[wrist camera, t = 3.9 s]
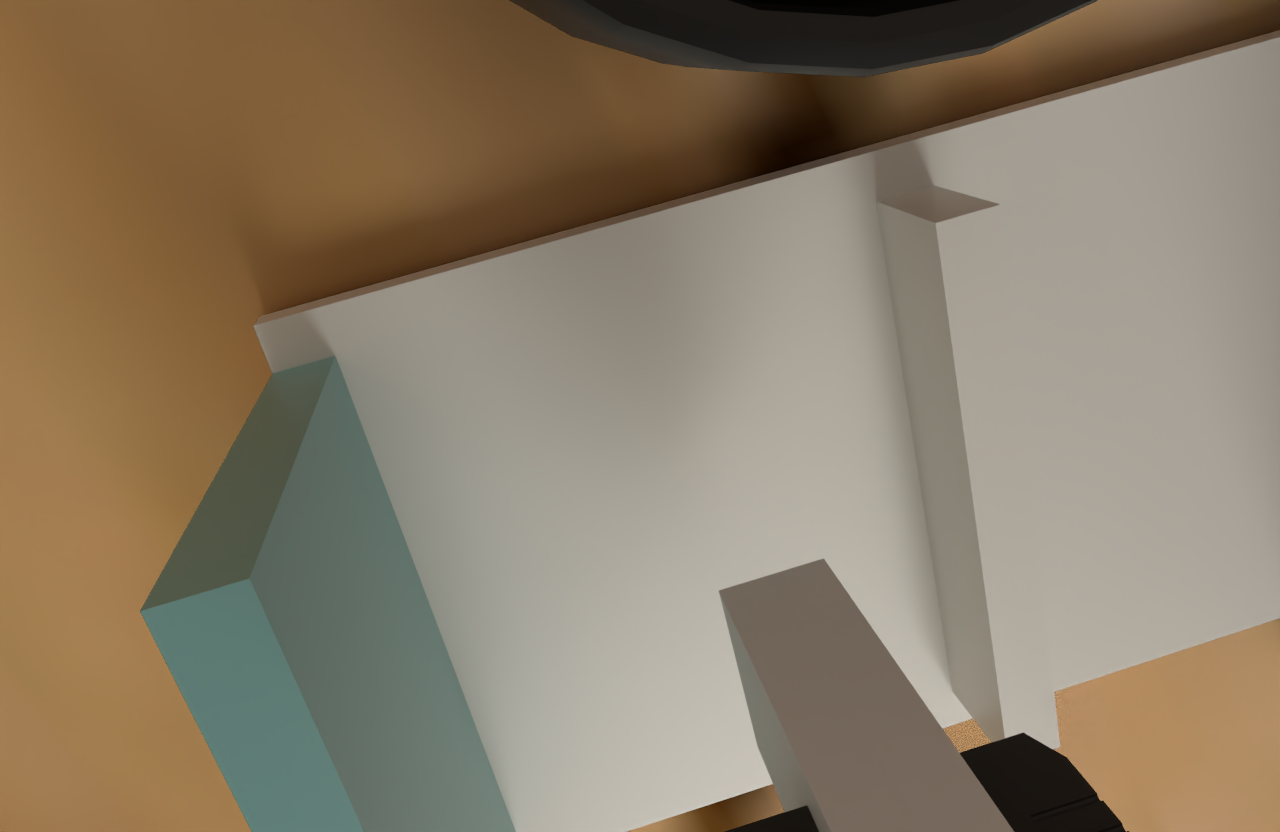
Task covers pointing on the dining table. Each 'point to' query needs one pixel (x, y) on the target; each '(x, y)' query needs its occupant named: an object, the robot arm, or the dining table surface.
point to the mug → (801, 30)
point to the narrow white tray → (751, 464)
